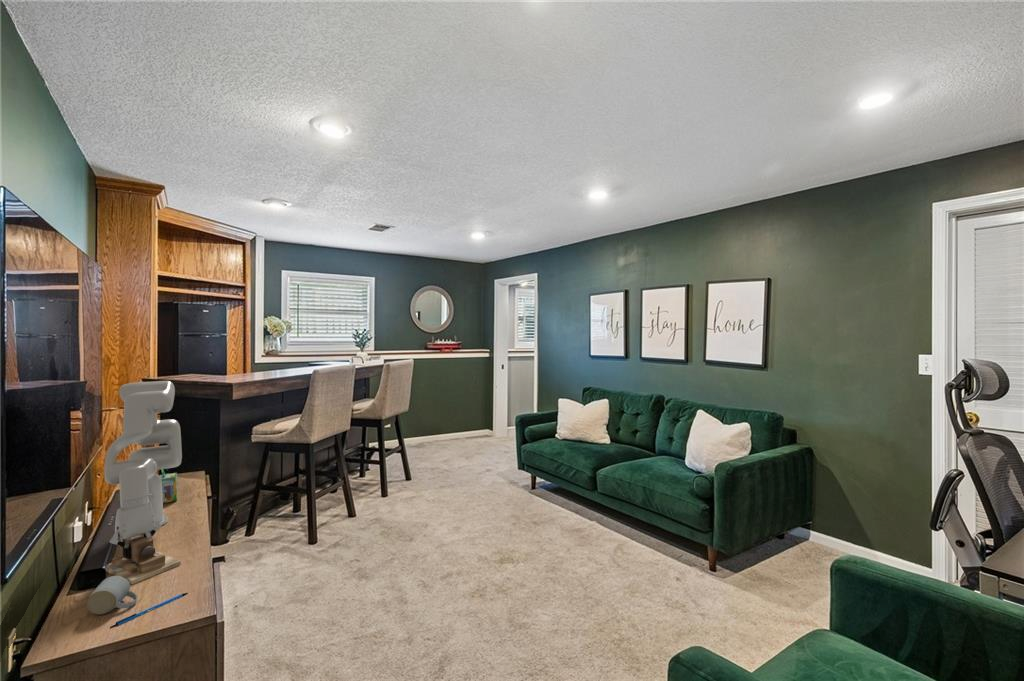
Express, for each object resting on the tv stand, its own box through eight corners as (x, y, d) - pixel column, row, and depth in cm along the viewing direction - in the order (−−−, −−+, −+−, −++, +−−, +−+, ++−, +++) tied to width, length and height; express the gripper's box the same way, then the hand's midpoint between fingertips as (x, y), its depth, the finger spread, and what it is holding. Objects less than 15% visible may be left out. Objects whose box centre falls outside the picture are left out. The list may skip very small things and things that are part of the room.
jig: (102, 569, 159) (101, 557, 159) (150, 551, 171) (150, 540, 171) (132, 584, 149) (131, 571, 149) (180, 564, 162) (180, 552, 162)
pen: (109, 628, 128) (109, 624, 128) (187, 593, 144) (187, 590, 144) (110, 629, 127) (110, 625, 127) (189, 594, 144) (188, 590, 144)
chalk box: (176, 501, 221) (175, 470, 221) (152, 505, 217) (150, 473, 216) (179, 495, 229) (177, 465, 229) (155, 499, 225) (154, 468, 224)
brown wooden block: (119, 555, 163) (118, 538, 162) (134, 550, 167) (133, 533, 166) (142, 564, 156) (141, 546, 156) (157, 558, 160) (156, 540, 160)
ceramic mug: (84, 619, 132) (83, 591, 132) (99, 602, 140) (99, 577, 139) (130, 612, 135) (129, 585, 135) (142, 596, 143) (142, 571, 143)
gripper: (157, 492, 170) (159, 542, 171) (98, 508, 156) (101, 563, 156) (168, 495, 167) (170, 546, 167) (109, 512, 152) (112, 568, 153)
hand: (137, 554), depth 162 cm, fingers closed on brown wooden block, 4 cm apart
